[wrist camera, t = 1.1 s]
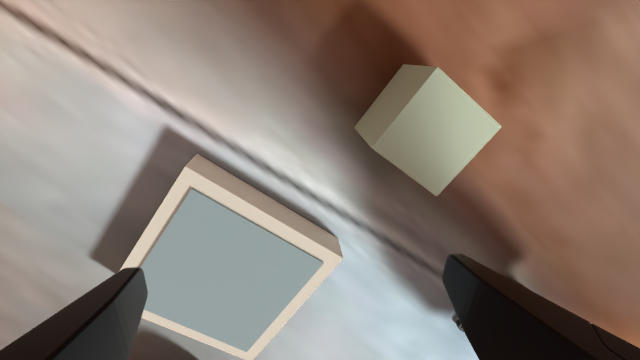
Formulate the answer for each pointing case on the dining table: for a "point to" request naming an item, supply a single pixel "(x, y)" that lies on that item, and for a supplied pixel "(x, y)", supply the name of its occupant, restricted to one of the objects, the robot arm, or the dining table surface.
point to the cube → (426, 126)
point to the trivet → (228, 261)
